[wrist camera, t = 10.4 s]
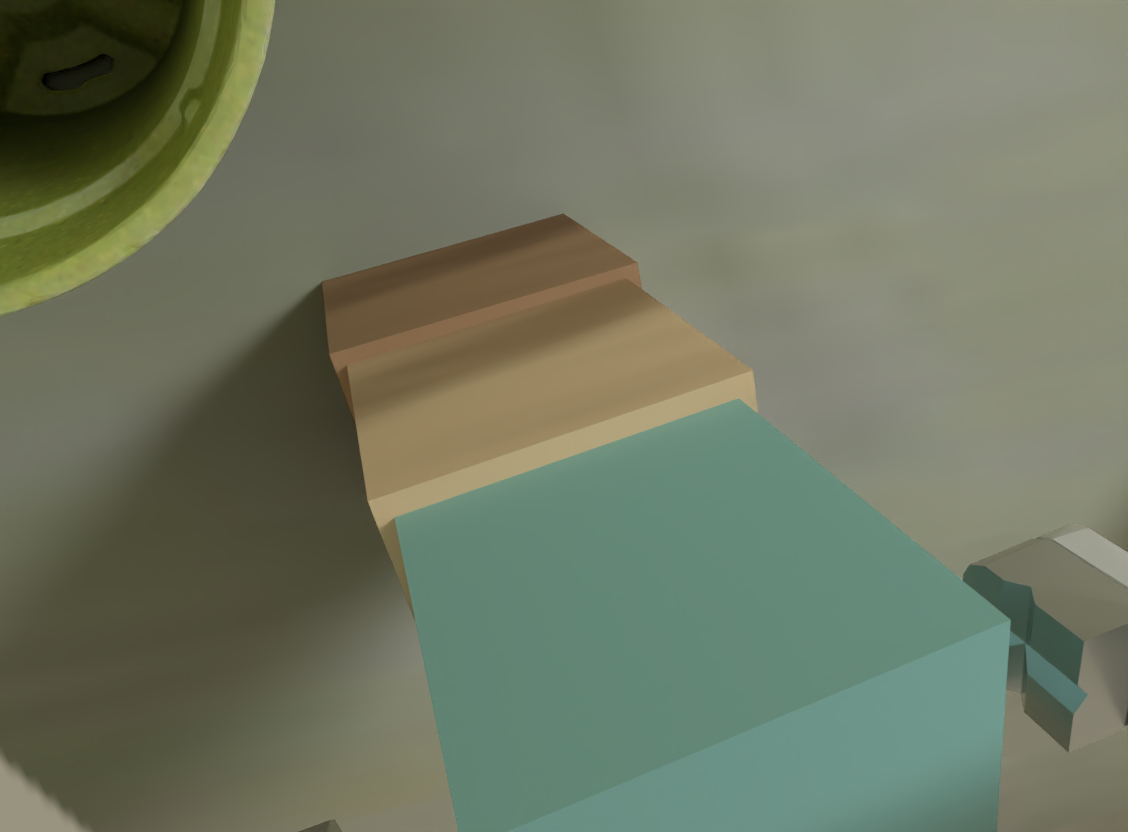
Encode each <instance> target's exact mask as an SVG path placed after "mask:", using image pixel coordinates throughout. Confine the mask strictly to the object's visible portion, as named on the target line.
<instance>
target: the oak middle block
mask: <svg viewBox="0 0 1128 832" xmlns="http://www.w3.org/2000/svg"><path fill="white" fill-rule="evenodd" d="M347 369H348V376H349V382H350V389H351V395H352V402H353V408H354V415H355V422H356V428H357V435H358V441H359V448H360V454H361V461H362V467H363V474H364V480H365V487H366V493H367V500H368V503H369V506H370V508H371V511H372V513H373V516H374V519H375V521H376V524H377V526H378V529H379V531H380V534H381V536H382V539H383V541H384V544H385V546H386V549H387V551H388V554H389V556H390V559H391V561H392V564H393V566H394V569H395V571H396V574H397V576H398V579H399V581H400V584H401V586H402V589H403V592H404V594H405V597H406V599H407V602H408V604H409V607H410V609H411V612H412V614H413V617H414V619H415V616H414V611H413V606H412V601H411V596H410V591H409V587H408V582H407V577H406V572H405V567H404V562H403V557H402V552H401V547H400V542H399V537H398V533H397V528H396V523H395V518H394V517H397V516H400V515H403V514H406V513H409V512H412V511H415V510H418V509H420V508H423V507H426V506H429V505H432V504H435V503H438V502H441V501H444V500H446V499H449V498H452V497H455V496H458V495H461V494H464V493H467V492H469V491H472V490H475V489H478V488H481V487H484V486H487V485H490V484H493V483H495V482H498V481H501V480H504V479H507V478H510V477H513V476H516V475H519V474H521V473H524V472H527V471H530V470H533V469H536V468H539V467H542V466H545V465H547V464H550V463H553V462H556V461H559V460H562V459H565V458H568V457H571V456H573V455H576V454H579V453H582V452H585V451H588V450H591V449H594V448H597V447H599V446H602V445H605V444H608V443H611V442H614V441H617V440H620V439H622V438H625V437H628V436H631V435H634V434H637V433H640V432H643V431H646V430H648V429H651V428H654V427H657V426H660V425H663V424H666V423H669V422H672V421H674V420H677V419H680V418H683V417H686V416H689V415H692V414H695V413H698V412H700V411H703V410H706V409H709V408H712V407H715V406H718V405H721V404H724V403H726V402H729V401H732V400H735V399H738V398H739V399H740V400H742V401H743V402H744V403H745V404H747V405H748V406H749V407H750V408H752V409H753V410H754V411H755V412H756V413H758V411H757V402H756V393H755V384H754V375H753V370H752V369H750V368H749V367H748V366H746V365H745V364H744V363H742V362H741V361H739V360H738V359H737V358H735V357H734V356H733V355H731V354H730V353H729V352H727V351H726V350H724V349H723V348H722V347H720V346H719V345H718V344H716V343H715V342H713V341H712V340H711V339H709V338H708V337H707V336H705V335H704V334H702V333H701V332H700V331H698V330H697V329H696V328H694V327H693V326H691V325H690V324H689V323H687V322H686V321H685V320H683V319H682V318H681V317H679V316H678V315H676V314H675V313H674V312H672V311H671V310H670V309H668V308H667V307H665V306H664V305H663V304H661V303H660V302H659V301H657V300H656V299H654V298H653V297H652V296H650V295H649V294H648V293H646V292H645V291H643V290H642V289H641V288H639V287H638V286H637V285H635V284H634V283H632V282H631V281H630V280H628V279H627V278H624V279H621V280H618V281H614V282H611V283H608V284H605V285H602V286H598V287H595V288H592V289H589V290H586V291H582V292H579V293H576V294H573V295H569V296H566V297H563V298H560V299H557V300H553V301H550V302H547V303H544V304H541V305H537V306H534V307H531V308H528V309H524V310H521V311H518V312H515V313H512V314H508V315H505V316H502V317H499V318H496V319H492V320H489V321H486V322H483V323H479V324H476V325H473V326H470V327H467V328H463V329H460V330H457V331H454V332H450V333H447V334H444V335H441V336H438V337H434V338H431V339H428V340H425V341H422V342H418V343H415V344H412V345H409V346H405V347H402V348H399V349H396V350H393V351H389V352H386V353H383V354H380V355H377V356H373V357H370V358H367V359H364V360H360V361H357V362H354V363H351V364H348V365H347ZM415 622H416V621H415Z"/></svg>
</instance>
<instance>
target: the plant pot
mask: <svg viewBox="0 0 1128 832" xmlns="http://www.w3.org/2000/svg"><path fill="white" fill-rule="evenodd" d="M275 1H276V0H0V316H3V315H7V314H10V313H14V312H17V311H20V310H22V309H25V308H28V307H30V306H33V305H36V304H38V303H41V302H44V301H47V300H50V299H52V298H55V297H57V296H59V295H61V294H63V293H66V292H68V291H71V290H73V289H75V288H77V287H79V286H81V285H83V284H85V283H87V282H89V281H91V280H93V279H95V278H97V277H99V276H100V275H102V274H103V273H105V272H107V271H108V270H110V269H111V268H113V267H115V266H116V265H118V264H119V263H121V262H122V261H124V260H125V259H127V258H128V257H129V256H131V255H132V254H133V253H135V252H136V251H138V250H139V249H140V248H142V247H143V246H144V245H145V244H147V243H148V242H149V241H151V240H152V239H153V238H154V237H155V236H156V235H157V234H158V233H159V232H161V231H162V230H163V229H164V228H165V227H166V226H167V225H168V224H169V223H171V222H172V221H173V220H174V219H175V218H176V217H177V216H178V215H179V214H180V213H181V212H182V211H183V210H184V209H185V208H186V207H187V205H188V204H189V203H190V202H191V201H192V200H193V198H194V197H195V196H196V195H197V194H198V193H199V191H200V190H201V189H202V187H203V186H204V184H205V183H206V182H207V180H208V179H209V177H210V176H211V174H212V173H213V171H214V170H215V168H216V167H217V165H218V164H219V162H220V161H221V159H222V157H223V156H224V154H225V152H226V150H227V149H228V147H229V145H230V144H231V142H232V140H233V138H234V136H235V134H236V132H237V130H238V128H239V126H240V124H241V121H242V119H243V117H244V115H245V113H246V111H247V109H248V107H249V104H250V101H251V99H252V96H253V93H254V91H255V88H256V85H257V82H258V79H259V76H260V73H261V70H262V67H263V64H264V61H265V58H266V52H267V48H268V44H269V40H270V35H271V30H272V23H273V16H274V8H275ZM101 54H106V55H108V56H110V57H112V58H113V59H114V60H113V61H112V69H111V71H110V72H109V73H107V74H103V75H100V76H97V77H96V78H91V79H88V80H87V81H85V82H84V83H83V85H82V86H80V87H78V88H77V89H71V90H57V91H55V90H50V89H49V88H48V87H46V86H45V85H44V84H43V83H42V78H43V75H44V74H45V73H50V72H58V71H61V70H64V69H69V68H73V67H77V66H79V65H81V64H83V63H86V62H88V61H91V60H94V59H95V58H96V57H97V56H99V55H101Z"/></svg>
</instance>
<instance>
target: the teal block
mask: <svg viewBox="0 0 1128 832" xmlns="http://www.w3.org/2000/svg"><path fill="white" fill-rule="evenodd" d="M394 518H395V523H396V528H397V533H398V537H399V542H400V547H401V552H402V557H403V562H404V567H405V572H406V577H407V582H408V587H409V591H410V596H411V601H412V606H413V611H414V616H415V621H416V626H417V631H418V636H419V641H420V645H421V650H422V655H423V660H424V665H425V670H426V675H427V680H428V685H429V690H430V695H431V699H432V704H433V709H434V714H435V719H436V724H437V729H438V734H439V739H440V744H441V749H442V753H443V758H444V763H445V768H446V773H447V778H448V783H449V788H450V793H451V798H452V803H453V807H454V812H455V817H456V822H457V827H458V832H996V831H997V816H998V801H999V786H1000V772H1001V757H1002V742H1003V727H1004V713H1005V698H1006V683H1007V668H1008V654H1009V639H1010V624H1011V620H1010V619H1009V618H1008V617H1007V616H1005V615H1004V614H1003V613H1002V612H1001V611H999V610H998V609H997V608H996V607H994V606H993V605H992V604H991V603H989V602H988V601H987V600H986V599H985V598H983V597H982V596H981V595H980V594H978V593H977V592H976V591H975V590H974V589H972V588H971V587H970V586H969V585H967V584H966V583H965V582H964V581H963V580H961V579H960V578H959V577H958V576H956V575H955V574H954V573H953V572H951V571H950V570H949V569H948V568H947V567H945V566H944V565H943V564H942V563H940V562H939V561H938V560H937V559H936V558H934V557H933V556H932V555H931V554H929V553H928V552H927V551H926V550H924V549H923V548H922V547H921V546H920V545H918V544H917V543H916V542H915V541H913V540H912V539H911V538H910V537H909V536H907V535H906V534H905V533H904V532H902V531H901V530H900V529H899V528H897V527H896V526H895V525H894V524H893V523H891V522H890V521H889V520H888V519H886V518H885V517H884V516H883V515H882V514H880V513H879V512H878V511H877V510H875V509H874V508H873V507H872V506H871V505H869V504H868V503H867V502H866V501H864V500H863V499H862V498H861V497H859V496H858V495H857V494H856V493H855V492H853V491H852V490H851V489H850V488H848V487H847V486H846V485H845V484H844V483H842V482H841V481H840V480H839V479H837V478H836V477H835V476H834V475H832V474H831V473H830V472H829V471H828V470H826V469H825V468H824V467H823V466H821V465H820V464H819V463H818V462H817V461H815V460H814V459H813V458H812V457H810V456H809V455H808V454H807V453H805V452H804V451H803V450H802V449H801V448H799V447H798V446H797V445H796V444H794V443H793V442H792V441H791V440H790V439H788V438H787V437H786V436H785V435H783V434H782V433H781V432H780V431H778V430H777V429H776V428H775V427H774V426H772V425H771V424H770V423H769V422H767V421H766V420H765V419H764V418H763V417H761V416H760V415H759V414H758V413H756V412H755V411H754V410H753V409H752V408H750V407H749V406H748V405H747V404H745V403H744V402H743V401H742V400H740V399H739V398H738V399H735V400H732V401H729V402H726V403H724V404H721V405H718V406H715V407H712V408H709V409H706V410H703V411H700V412H698V413H695V414H692V415H689V416H686V417H683V418H680V419H677V420H674V421H672V422H669V423H666V424H663V425H660V426H657V427H654V428H651V429H648V430H646V431H643V432H640V433H637V434H634V435H631V436H628V437H625V438H622V439H620V440H617V441H614V442H611V443H608V444H605V445H602V446H599V447H597V448H594V449H591V450H588V451H585V452H582V453H579V454H576V455H573V456H571V457H568V458H565V459H562V460H559V461H556V462H553V463H550V464H547V465H545V466H542V467H539V468H536V469H533V470H530V471H527V472H524V473H521V474H519V475H516V476H513V477H510V478H507V479H504V480H501V481H498V482H495V483H493V484H490V485H487V486H484V487H481V488H478V489H475V490H472V491H469V492H467V493H464V494H461V495H458V496H455V497H452V498H449V499H446V500H444V501H441V502H438V503H435V504H432V505H429V506H426V507H423V508H420V509H418V510H415V511H412V512H409V513H406V514H403V515H400V516H397V517H394Z"/></svg>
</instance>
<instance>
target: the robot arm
mask: <svg viewBox="0 0 1128 832" xmlns="http://www.w3.org/2000/svg"><path fill="white" fill-rule="evenodd" d="M963 581H964V582H965V583H966V584H967V585H969V586H970V587H971V588H972V589H974V590H975V591H976V592H977V593H978V594H980V595H981V596H982V597H983V598H985V599H986V600H987V601H988V602H989V603H991V604H992V605H993V606H994V607H996V608H997V609H998V610H999V611H1001V612H1002V613H1003V614H1004V615H1005V616H1007V617H1008V618H1009V619H1010V620H1011V624H1010V639H1009V654H1008V668H1007V683H1006V689H1007V690H1010V691H1013V692H1016V693H1019V694H1021V698H1022V703H1023V708H1024V712H1025V713H1026V714H1027V715H1028V716H1029V717H1030V718H1031V719H1033V720H1034V721H1035V722H1036V723H1037V724H1038V725H1039V726H1040V727H1041V728H1042V729H1043V730H1044V731H1046V732H1047V733H1048V734H1049V735H1050V736H1051V737H1052V738H1053V739H1054V740H1055V741H1056V742H1058V743H1059V744H1060V745H1061V746H1062V747H1063V748H1064V749H1065V750H1066V751H1067V752H1068V753H1069V752H1071V751H1074V750H1076V749H1078V748H1081V747H1083V746H1086V745H1088V744H1091V743H1093V742H1095V741H1098V740H1100V739H1103V738H1105V737H1107V736H1110V735H1112V734H1115V733H1117V732H1119V731H1122V730H1124V729H1127V728H1128V552H1126V551H1125V550H1123V549H1121V548H1120V547H1118V546H1117V545H1115V544H1113V543H1112V542H1110V541H1108V540H1107V539H1105V538H1104V537H1102V536H1100V535H1099V534H1097V533H1095V532H1094V531H1092V530H1091V529H1089V528H1087V527H1085V526H1081V525H1077V524H1073V523H1072V524H1069V525H1067V526H1064V527H1062V528H1059V529H1057V530H1054V531H1052V532H1049V533H1047V534H1044V535H1042V536H1039V537H1037V538H1036V539H1030V540H1028V541H1026V542H1023V543H1021V544H1018V545H1016V546H1013V547H1011V548H1009V549H1006V550H1004V551H1001V552H999V553H996V554H994V555H992V556H989V557H987V558H984V559H982V560H980V561H977V562H975V563H972V564H970V565H969V566H968V568H967V569H966V571H965V573H964V574H963ZM299 832H342V831H341V829H340V827H339V826H338V824H337V822H336V821H335V820H329V821H326V822H323V823H321V824H318V825H315V826H313V827H310V828H307V829H304V830H302V831H299Z"/></svg>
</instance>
